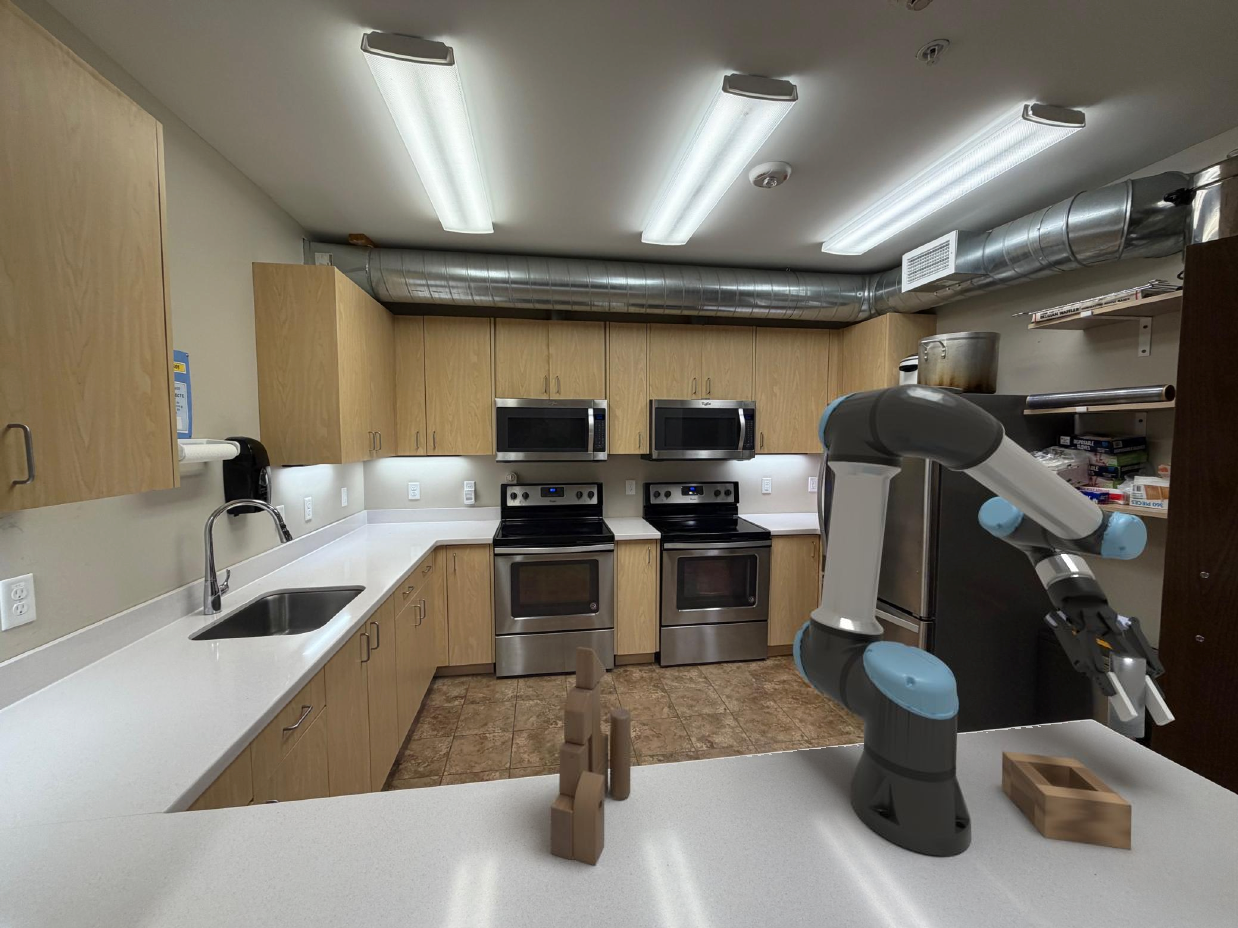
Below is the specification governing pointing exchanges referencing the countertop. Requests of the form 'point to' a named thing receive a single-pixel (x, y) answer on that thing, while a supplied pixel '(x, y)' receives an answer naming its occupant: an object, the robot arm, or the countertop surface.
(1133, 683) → the silver metal peg
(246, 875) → the countertop surface
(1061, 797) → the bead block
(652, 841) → the countertop surface
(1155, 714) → the robot arm
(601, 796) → the wooden toy
